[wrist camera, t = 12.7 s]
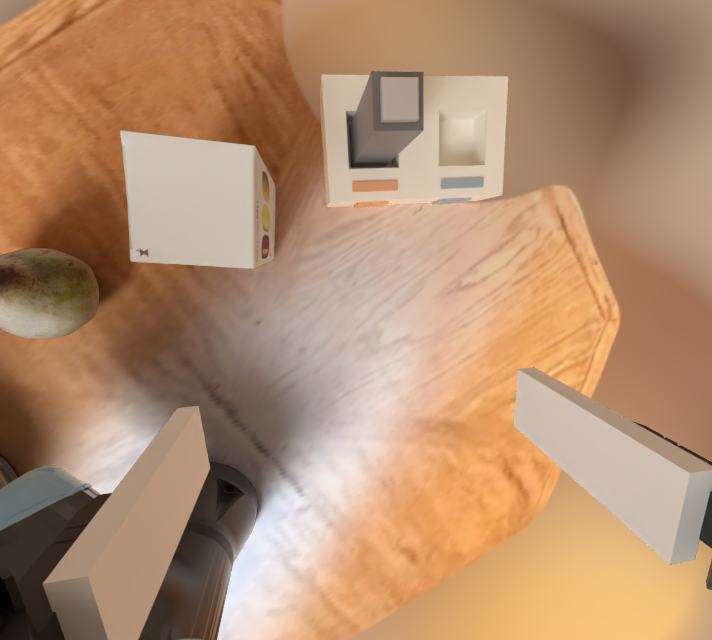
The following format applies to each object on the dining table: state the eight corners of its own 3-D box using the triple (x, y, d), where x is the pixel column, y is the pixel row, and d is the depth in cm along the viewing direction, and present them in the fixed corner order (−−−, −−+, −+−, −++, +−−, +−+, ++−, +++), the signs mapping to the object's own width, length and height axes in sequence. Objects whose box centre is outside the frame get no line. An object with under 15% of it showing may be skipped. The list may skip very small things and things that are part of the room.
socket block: (326, 209, 42) (330, 204, 36) (319, 99, 39) (321, 73, 33) (476, 203, 44) (503, 197, 38) (480, 99, 41) (509, 75, 35)
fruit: (93, 236, 38) (2, 234, 27) (133, 310, 41) (66, 337, 29) (5, 265, 38) (-127, 276, 26) (51, 339, 40) (-50, 378, 29)
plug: (351, 167, 38) (375, 128, 25) (349, 128, 37) (373, 67, 24) (385, 166, 39) (426, 128, 25) (384, 128, 38) (426, 68, 24)
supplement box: (275, 261, 42) (256, 274, 26) (198, 257, 41) (127, 268, 24) (276, 181, 40) (256, 141, 24) (195, 173, 39) (115, 125, 22)
